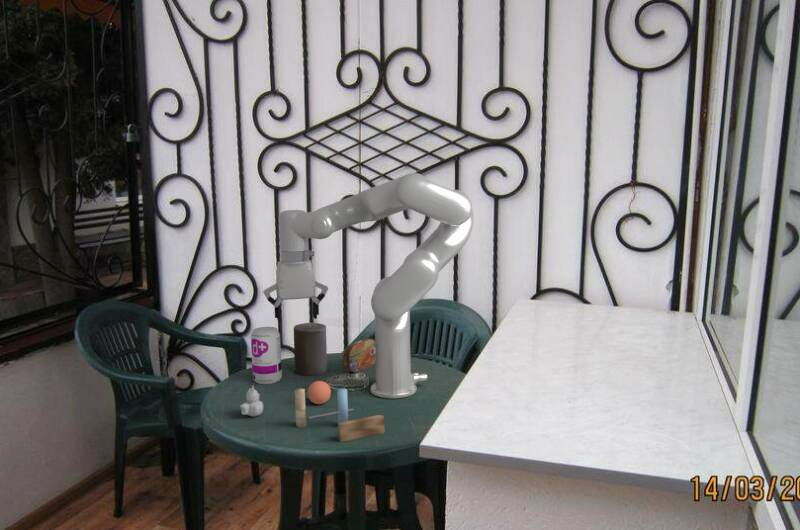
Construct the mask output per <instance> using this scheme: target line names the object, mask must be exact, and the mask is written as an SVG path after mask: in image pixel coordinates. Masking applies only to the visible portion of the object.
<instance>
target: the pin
mask: <svg viewBox="0 0 800 530" xmlns="http://www.w3.org/2000/svg"><path fill="white" fill-rule="evenodd" d="M336 395H337V397H336V399H337V411H338V414H337V424H338V423H341V422H346V421H349V412H348V409H349V406H348V405H349V403H348V400H349V399H348V389H347V388H339V389H337V390H336Z"/></svg>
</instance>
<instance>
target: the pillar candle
mask: <svg viewBox="0 0 800 530" xmlns="http://www.w3.org/2000/svg"><path fill="white" fill-rule="evenodd" d="M293 354H294V355H293V356H294V357H293V358H294V373H296V374H297V375H300V376H304V377H307V376H309V377H310V376H319V375H322V374H324V373H326V372H327V371H328V360H327V359H328V356H327V355H328V353H327V325H325V324H323V323H319V322H318V323H317V322H304V323H297V324H295V325H294V326H293Z"/></svg>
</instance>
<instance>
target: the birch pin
mask: <svg viewBox="0 0 800 530" xmlns="http://www.w3.org/2000/svg"><path fill="white" fill-rule="evenodd" d="M305 390H306V389H305V388H296V389H295V390H294V405H295V408H294V409H295V426H296V428H300V429H301V428H305V427H306V426H307V415H306V414H307V413H306V412H307V411H306V392H305Z"/></svg>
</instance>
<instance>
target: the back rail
mask: <svg viewBox="0 0 800 530" xmlns="http://www.w3.org/2000/svg"><path fill="white" fill-rule="evenodd" d="M385 431H386V430H385V416H384V415H383V414H382V413H381V414H378V415H373V416H367V417H363V418H357V419H352V420H348V421H346V422H341V423H338V422H337V437H338V441H339V442H340V443H342V442H343V443H344V442H349V441H352V440H357V439H362V438H367V437H371V436H377V435H381V434H385V433H386V432H385Z"/></svg>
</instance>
